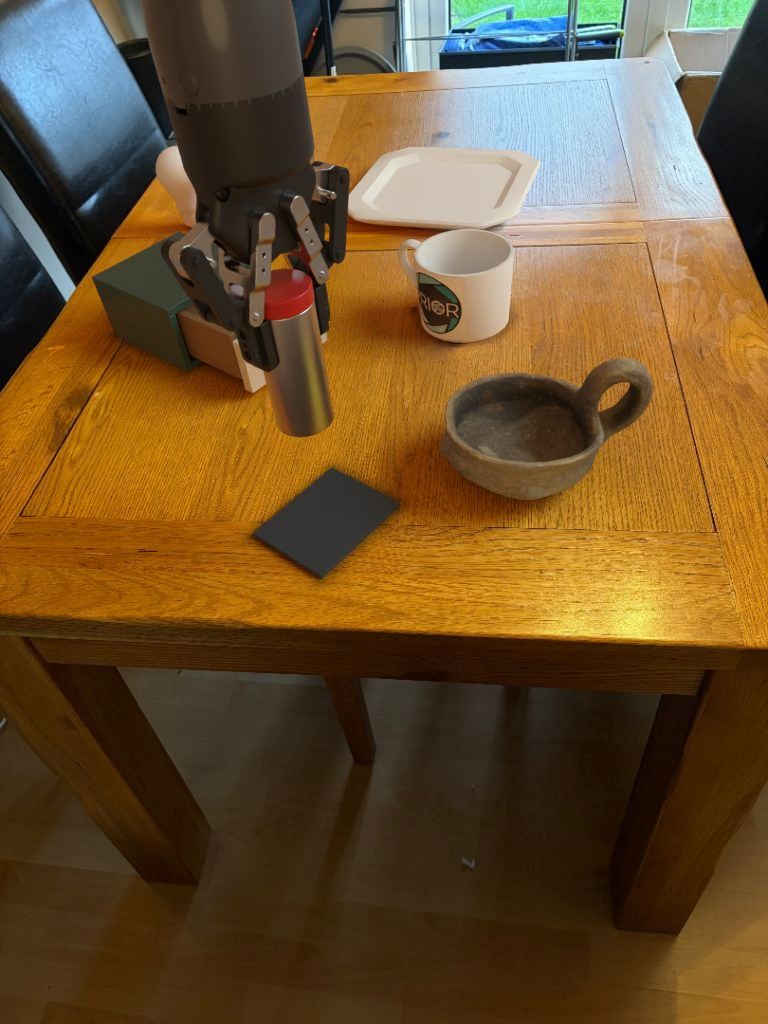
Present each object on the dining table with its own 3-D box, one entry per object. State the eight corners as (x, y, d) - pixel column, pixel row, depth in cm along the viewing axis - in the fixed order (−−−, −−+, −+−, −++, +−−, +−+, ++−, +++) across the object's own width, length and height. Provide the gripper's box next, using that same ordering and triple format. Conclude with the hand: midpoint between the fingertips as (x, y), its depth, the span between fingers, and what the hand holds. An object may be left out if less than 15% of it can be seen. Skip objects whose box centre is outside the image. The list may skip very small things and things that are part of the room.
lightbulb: (202, 213, 110) (181, 135, 102) (223, 225, 106) (203, 145, 99) (166, 228, 108) (141, 149, 100) (186, 241, 104) (162, 160, 96)
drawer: (336, 343, 81) (328, 295, 77) (261, 397, 75) (248, 348, 71) (251, 309, 88) (239, 263, 84) (176, 356, 82) (160, 309, 78)
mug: (528, 307, 84) (531, 238, 78) (484, 355, 78) (484, 285, 73) (426, 282, 90) (423, 217, 84) (378, 325, 84) (371, 259, 79)
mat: (321, 580, 59) (321, 576, 59) (253, 537, 63) (252, 533, 63) (400, 506, 64) (400, 502, 64) (332, 470, 68) (332, 466, 68)
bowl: (433, 426, 71) (428, 336, 64) (616, 408, 70) (632, 315, 63) (449, 531, 61) (445, 439, 54) (661, 510, 61) (686, 415, 54)
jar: (306, 446, 53) (277, 310, 46) (263, 424, 56) (228, 291, 48) (347, 413, 56) (326, 279, 48) (304, 393, 58) (277, 262, 50)
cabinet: (269, 318, 87) (255, 258, 82) (187, 372, 81) (167, 310, 76) (195, 288, 94) (178, 231, 89) (114, 335, 88) (91, 276, 83)
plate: (332, 230, 102) (329, 215, 101) (389, 159, 118) (387, 145, 116) (510, 243, 95) (510, 226, 93) (545, 165, 111) (546, 150, 109)
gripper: (277, 29, 44) (320, 288, 57) (77, 106, 37) (176, 383, 50) (372, 41, 41) (397, 316, 53) (170, 129, 34) (252, 422, 46)
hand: (290, 347), depth 51 cm, fingers closed on jar, 4 cm apart
